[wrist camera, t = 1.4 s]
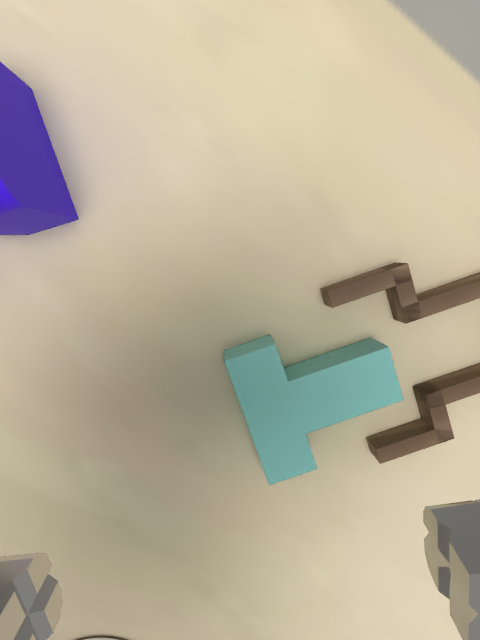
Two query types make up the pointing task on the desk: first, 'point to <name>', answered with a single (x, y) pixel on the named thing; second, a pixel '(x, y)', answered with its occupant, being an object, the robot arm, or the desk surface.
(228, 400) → the desk surface
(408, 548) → the desk surface
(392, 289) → the frame
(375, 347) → the t block
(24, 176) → the bracket
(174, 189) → the desk surface
